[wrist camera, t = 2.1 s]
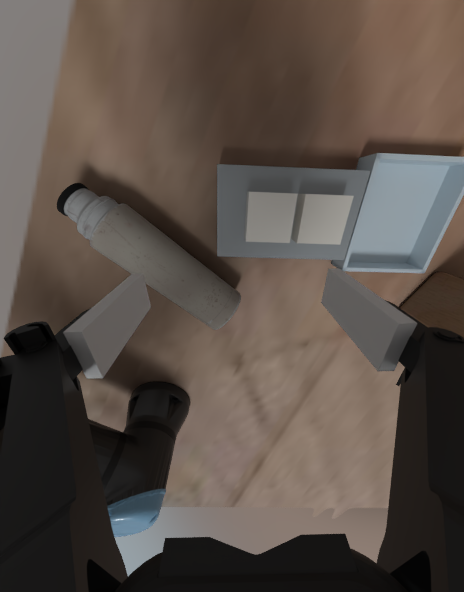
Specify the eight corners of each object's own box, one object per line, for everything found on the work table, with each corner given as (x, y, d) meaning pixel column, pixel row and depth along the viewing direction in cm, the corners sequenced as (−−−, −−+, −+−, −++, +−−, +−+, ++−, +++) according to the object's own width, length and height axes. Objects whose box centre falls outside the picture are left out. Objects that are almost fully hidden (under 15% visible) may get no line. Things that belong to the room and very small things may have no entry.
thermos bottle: (221, 302, 41) (89, 204, 33) (245, 286, 36) (94, 163, 27) (206, 334, 36) (47, 230, 28) (232, 322, 31) (42, 185, 22)
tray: (330, 263, 37) (341, 270, 33) (359, 157, 29) (377, 152, 26) (405, 265, 37) (424, 273, 33) (451, 162, 30) (482, 157, 26)
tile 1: (290, 238, 30) (296, 243, 27) (298, 193, 27) (305, 193, 25) (330, 240, 30) (340, 244, 27) (341, 195, 27) (353, 195, 25)
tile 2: (244, 237, 30) (245, 241, 27) (246, 191, 27) (249, 191, 24) (284, 238, 30) (289, 243, 27) (290, 193, 27) (297, 193, 25)
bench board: (218, 249, 35) (217, 256, 31) (218, 168, 30) (217, 164, 26) (331, 252, 36) (344, 259, 32) (351, 173, 30) (370, 170, 26)
